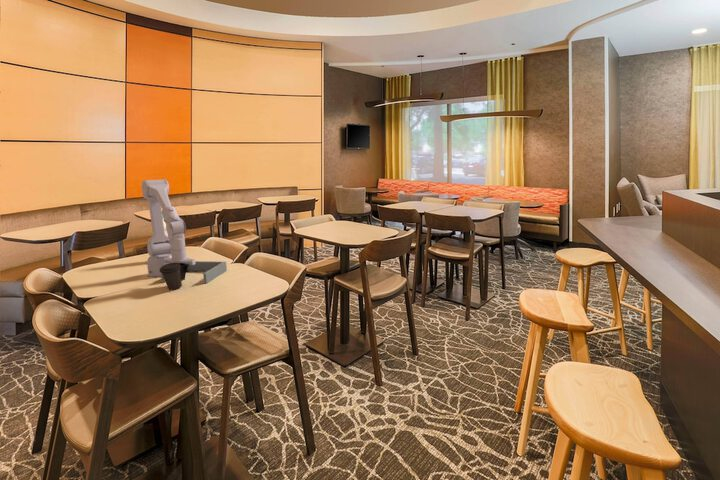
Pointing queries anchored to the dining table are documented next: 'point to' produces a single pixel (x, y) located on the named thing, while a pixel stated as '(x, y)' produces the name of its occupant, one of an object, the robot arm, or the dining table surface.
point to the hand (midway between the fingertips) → (181, 280)
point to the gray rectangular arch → (207, 269)
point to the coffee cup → (172, 275)
